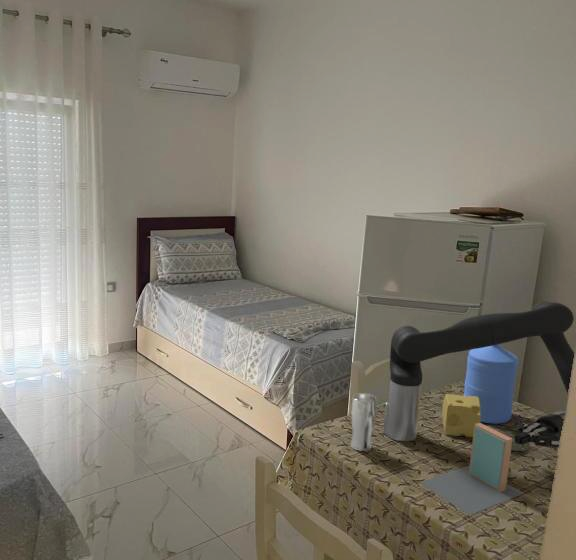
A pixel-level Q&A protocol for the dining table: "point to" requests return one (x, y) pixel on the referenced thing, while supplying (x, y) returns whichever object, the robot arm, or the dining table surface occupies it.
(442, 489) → the mat
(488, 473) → the tile
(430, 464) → the dining table surface
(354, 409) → the beer glass
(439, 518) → the dining table surface
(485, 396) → the water jug
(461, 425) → the cheese
